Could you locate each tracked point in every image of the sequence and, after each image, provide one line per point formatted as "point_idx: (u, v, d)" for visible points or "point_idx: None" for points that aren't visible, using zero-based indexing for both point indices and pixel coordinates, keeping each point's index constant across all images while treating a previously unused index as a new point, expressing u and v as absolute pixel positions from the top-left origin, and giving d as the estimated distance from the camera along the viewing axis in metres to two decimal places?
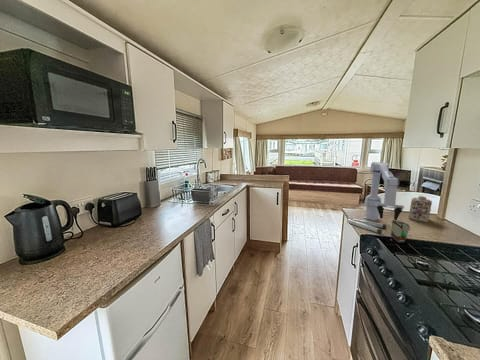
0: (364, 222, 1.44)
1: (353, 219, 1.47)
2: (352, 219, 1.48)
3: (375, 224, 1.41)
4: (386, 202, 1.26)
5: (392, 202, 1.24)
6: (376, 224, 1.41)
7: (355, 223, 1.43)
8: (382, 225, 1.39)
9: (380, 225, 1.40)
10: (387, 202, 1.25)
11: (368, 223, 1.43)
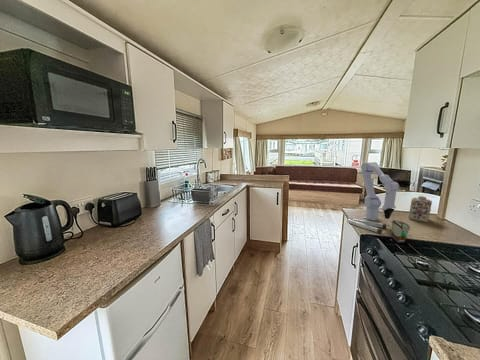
0: (364, 222, 1.44)
1: (353, 219, 1.47)
2: (352, 219, 1.48)
3: (375, 224, 1.41)
4: (390, 205, 1.39)
5: None
6: (376, 224, 1.41)
7: (355, 223, 1.43)
8: (382, 225, 1.39)
9: (380, 225, 1.40)
10: (391, 205, 1.39)
11: (368, 223, 1.43)
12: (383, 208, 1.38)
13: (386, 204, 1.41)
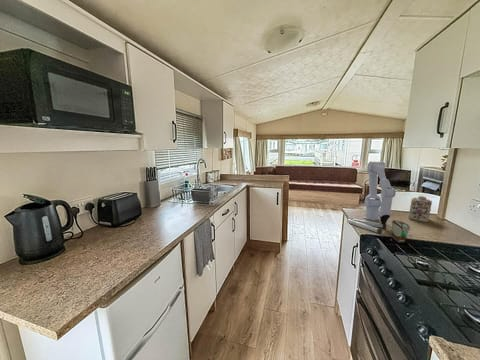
0: (364, 222, 1.44)
1: (353, 219, 1.47)
2: (352, 219, 1.48)
3: (375, 224, 1.41)
4: (386, 211, 1.37)
5: (390, 211, 1.38)
6: (376, 224, 1.41)
7: (355, 223, 1.43)
8: (382, 225, 1.39)
9: (380, 225, 1.40)
10: (387, 211, 1.37)
11: (368, 223, 1.43)
12: (379, 215, 1.37)
13: (382, 210, 1.39)
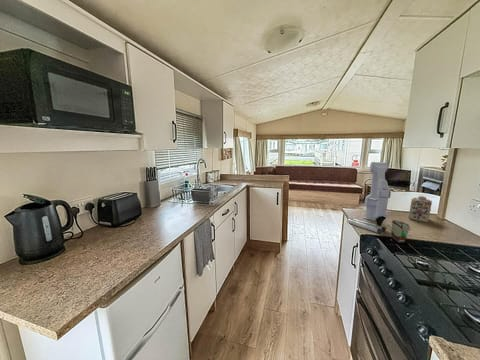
0: (363, 223, 1.42)
1: (353, 219, 1.47)
2: (352, 219, 1.48)
3: (374, 226, 1.38)
4: (382, 213, 1.34)
5: (386, 212, 1.34)
6: (375, 226, 1.37)
7: (355, 223, 1.43)
8: (381, 227, 1.35)
9: (379, 227, 1.36)
10: (383, 213, 1.34)
11: (367, 224, 1.41)
12: (374, 216, 1.33)
13: (378, 212, 1.35)
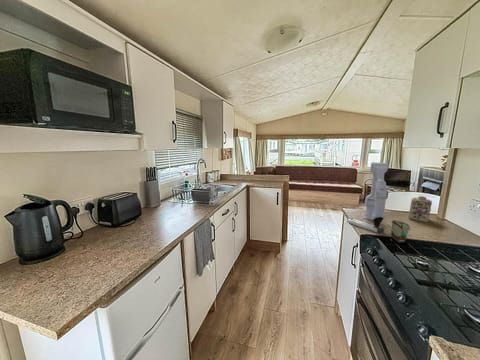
0: None
1: (352, 219, 1.47)
2: (351, 219, 1.48)
3: None
4: (379, 213, 1.32)
5: (383, 213, 1.33)
6: None
7: (355, 223, 1.43)
8: None
9: None
10: (380, 213, 1.32)
11: None
12: (372, 217, 1.31)
13: (375, 213, 1.34)
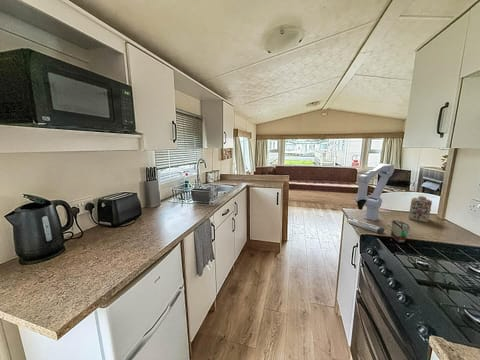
0: None
1: (352, 219, 1.47)
2: (351, 219, 1.48)
3: None
4: (362, 196, 1.46)
5: (366, 196, 1.47)
6: None
7: (355, 223, 1.43)
8: None
9: None
10: (363, 196, 1.46)
11: None
12: (356, 199, 1.45)
13: (359, 195, 1.48)
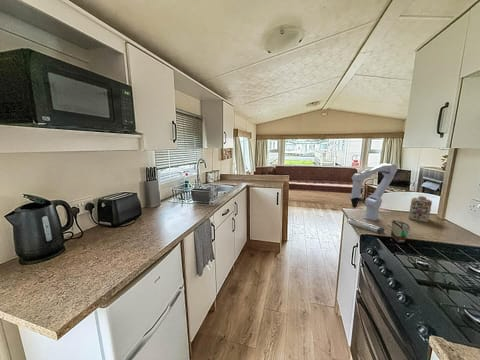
0: None
1: (352, 219, 1.47)
2: (351, 219, 1.48)
3: None
4: (356, 194, 1.50)
5: (360, 194, 1.50)
6: None
7: (355, 223, 1.43)
8: None
9: None
10: (357, 194, 1.50)
11: None
12: (349, 197, 1.49)
13: (353, 194, 1.51)
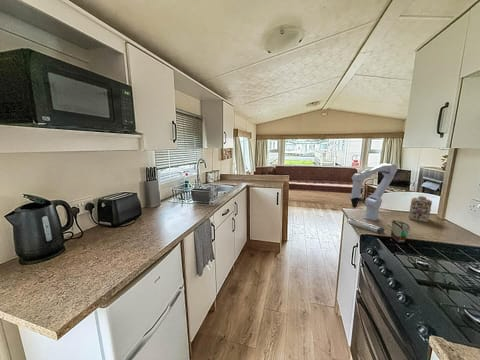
0: None
1: (352, 219, 1.47)
2: (351, 219, 1.48)
3: None
4: (356, 194, 1.50)
5: (360, 194, 1.50)
6: None
7: (355, 223, 1.43)
8: None
9: None
10: (357, 194, 1.50)
11: None
12: (349, 197, 1.49)
13: (353, 194, 1.51)
